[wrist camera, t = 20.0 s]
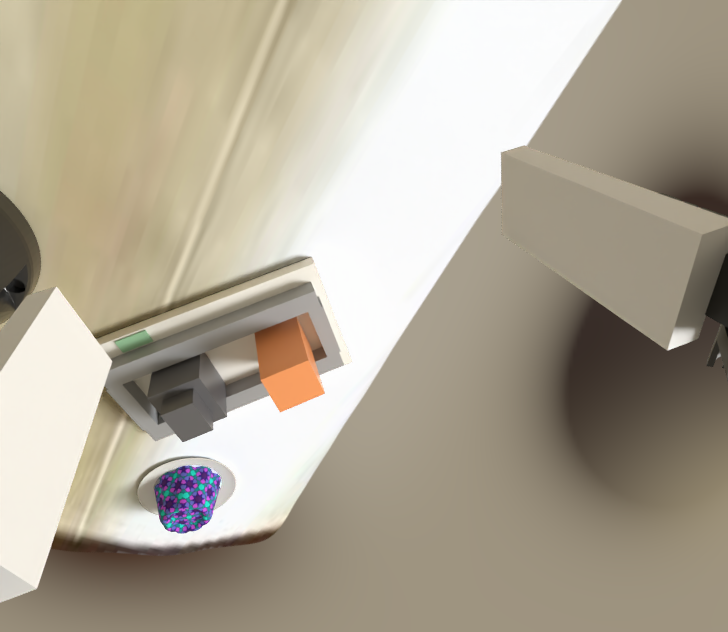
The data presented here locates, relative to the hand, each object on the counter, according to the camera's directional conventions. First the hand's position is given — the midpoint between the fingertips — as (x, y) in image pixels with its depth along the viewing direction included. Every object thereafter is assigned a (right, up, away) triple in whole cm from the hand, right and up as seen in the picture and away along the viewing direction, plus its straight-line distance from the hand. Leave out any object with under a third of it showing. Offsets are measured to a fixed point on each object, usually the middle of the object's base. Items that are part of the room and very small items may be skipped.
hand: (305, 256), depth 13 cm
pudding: (-22, -24, +44) cm, 54 cm away
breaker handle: (-16, -8, +32) cm, 37 cm away
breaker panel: (-13, -5, +34) cm, 37 cm away
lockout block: (-7, -4, +33) cm, 34 cm away
